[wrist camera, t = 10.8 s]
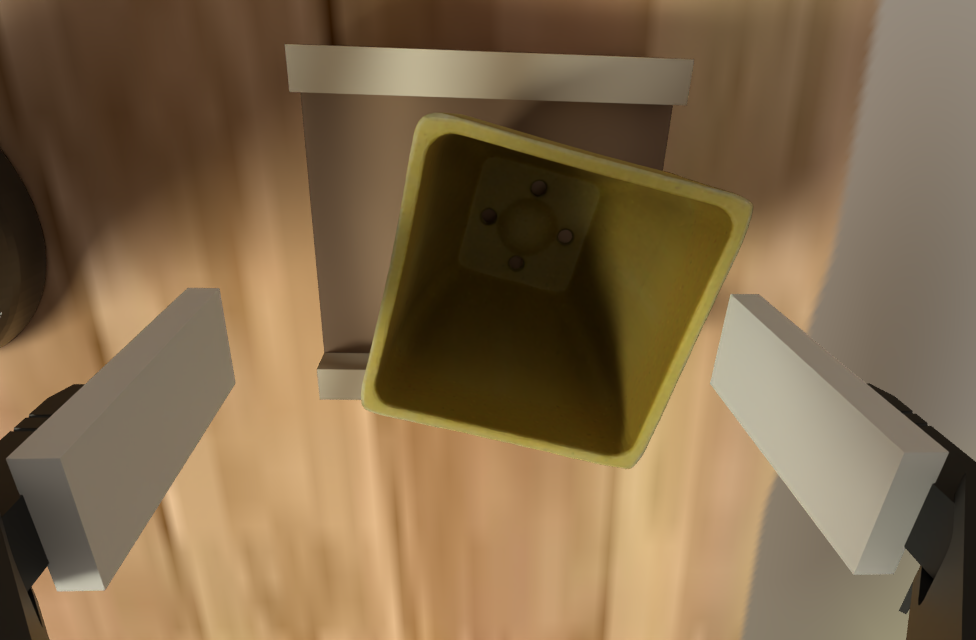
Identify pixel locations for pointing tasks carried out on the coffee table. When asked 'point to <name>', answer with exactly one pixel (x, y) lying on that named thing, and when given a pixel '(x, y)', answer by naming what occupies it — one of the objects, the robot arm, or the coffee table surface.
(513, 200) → the flower pot
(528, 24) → the coffee table surface
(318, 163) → the display stand
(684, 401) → the coffee table surface
